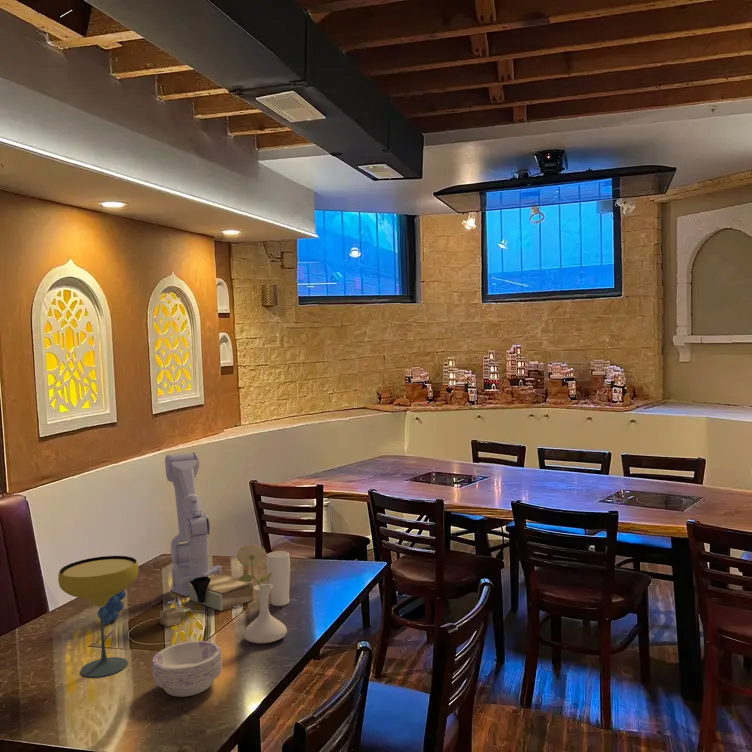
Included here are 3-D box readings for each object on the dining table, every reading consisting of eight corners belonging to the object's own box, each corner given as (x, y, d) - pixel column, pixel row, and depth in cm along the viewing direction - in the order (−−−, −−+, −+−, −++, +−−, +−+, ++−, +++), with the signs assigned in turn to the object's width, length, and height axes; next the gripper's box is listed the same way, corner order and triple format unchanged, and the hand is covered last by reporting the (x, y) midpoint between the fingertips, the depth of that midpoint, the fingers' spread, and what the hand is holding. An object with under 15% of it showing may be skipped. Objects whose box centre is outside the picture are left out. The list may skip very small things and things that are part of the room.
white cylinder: (281, 598, 221) (278, 549, 221) (296, 602, 217) (294, 552, 216) (264, 604, 216) (261, 555, 215) (279, 609, 212) (277, 558, 211)
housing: (191, 599, 224) (191, 582, 223) (221, 589, 232) (220, 573, 231) (223, 610, 212) (222, 593, 212) (253, 600, 220) (252, 583, 220)
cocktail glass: (48, 684, 168) (42, 577, 168) (89, 651, 186) (83, 555, 186) (121, 685, 166) (115, 577, 165) (155, 652, 184) (150, 555, 183)
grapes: (111, 613, 214) (109, 573, 214) (132, 614, 212) (129, 574, 212) (86, 628, 203) (84, 586, 203) (107, 629, 201) (105, 587, 201)
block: (160, 623, 204) (160, 611, 204) (173, 619, 207) (172, 607, 207) (168, 627, 201) (167, 614, 201) (180, 622, 204) (180, 610, 204)
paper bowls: (141, 689, 164) (139, 655, 163) (200, 667, 174) (199, 634, 174) (175, 711, 153) (173, 674, 152) (236, 686, 163) (234, 651, 163)
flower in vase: (294, 631, 194) (289, 539, 193) (276, 649, 183) (272, 551, 182) (249, 628, 197) (244, 537, 197) (230, 645, 186) (225, 549, 186)
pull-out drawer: (189, 599, 223) (188, 584, 223) (218, 590, 231) (217, 576, 230) (220, 610, 212) (219, 595, 212) (249, 600, 219) (248, 585, 219)
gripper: (185, 565, 208) (187, 612, 209) (227, 553, 219) (229, 598, 219) (171, 561, 213) (174, 606, 213) (213, 549, 224) (215, 593, 224)
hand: (201, 602), depth 217 cm, fingers closed
